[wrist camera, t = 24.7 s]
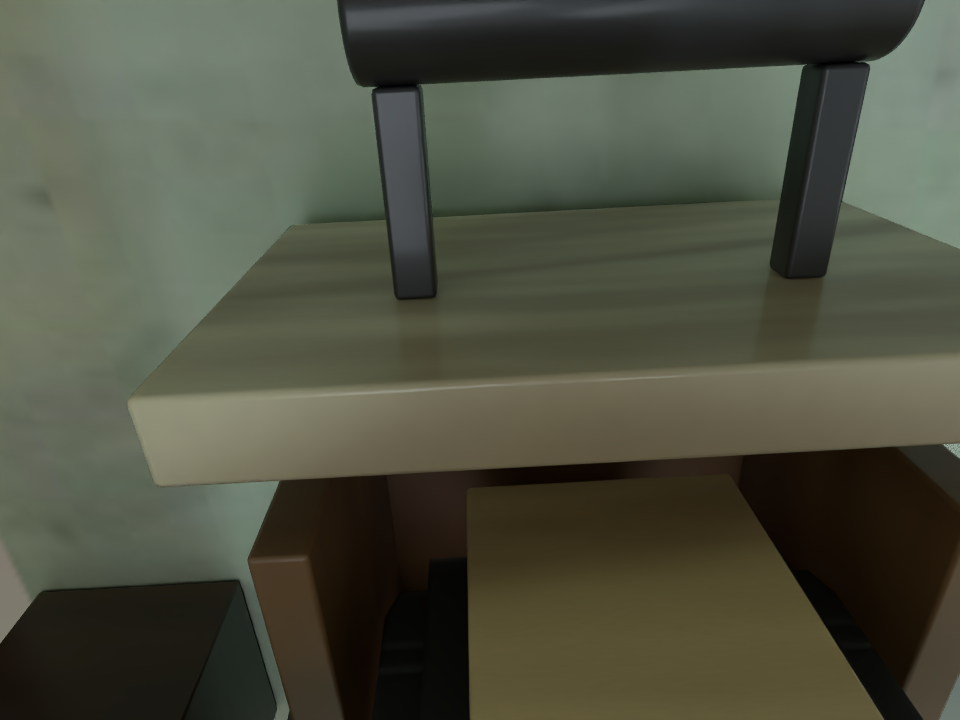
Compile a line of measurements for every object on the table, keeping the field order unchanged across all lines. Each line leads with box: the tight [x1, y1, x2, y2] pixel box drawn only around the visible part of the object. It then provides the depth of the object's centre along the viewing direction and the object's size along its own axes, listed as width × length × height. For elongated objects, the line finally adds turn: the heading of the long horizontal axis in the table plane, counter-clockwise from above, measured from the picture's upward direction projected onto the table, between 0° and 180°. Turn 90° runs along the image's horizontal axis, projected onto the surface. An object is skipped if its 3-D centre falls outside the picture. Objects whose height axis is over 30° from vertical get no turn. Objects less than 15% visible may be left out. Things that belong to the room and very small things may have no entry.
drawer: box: [128, 0, 960, 720], centre depth 12 cm, size 18×11×7 cm, turn 3°
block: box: [466, 474, 884, 720], centre depth 9 cm, size 4×4×4 cm
